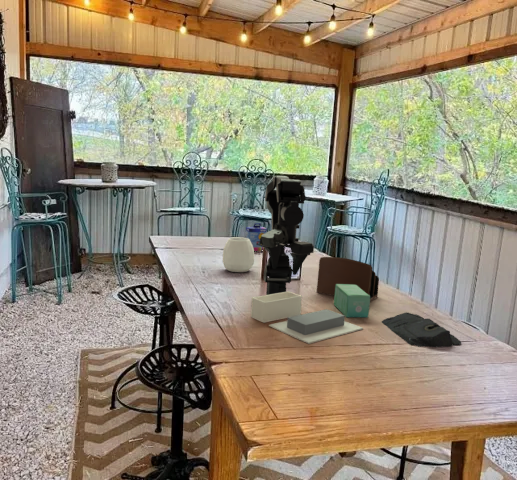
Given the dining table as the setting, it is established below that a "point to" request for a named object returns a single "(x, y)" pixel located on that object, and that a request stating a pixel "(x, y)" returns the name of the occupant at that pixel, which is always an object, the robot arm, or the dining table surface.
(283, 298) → the base
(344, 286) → the box
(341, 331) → the pale cream mat
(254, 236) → the ink cartridge box
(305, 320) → the grey rectangular block
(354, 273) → the letter holder
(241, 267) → the cream rounded pot
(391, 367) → the dining table surface
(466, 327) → the dining table surface
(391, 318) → the dark slate chunk
